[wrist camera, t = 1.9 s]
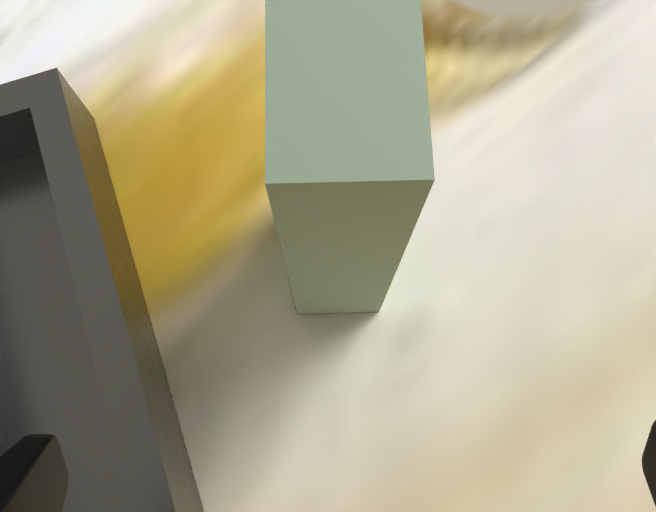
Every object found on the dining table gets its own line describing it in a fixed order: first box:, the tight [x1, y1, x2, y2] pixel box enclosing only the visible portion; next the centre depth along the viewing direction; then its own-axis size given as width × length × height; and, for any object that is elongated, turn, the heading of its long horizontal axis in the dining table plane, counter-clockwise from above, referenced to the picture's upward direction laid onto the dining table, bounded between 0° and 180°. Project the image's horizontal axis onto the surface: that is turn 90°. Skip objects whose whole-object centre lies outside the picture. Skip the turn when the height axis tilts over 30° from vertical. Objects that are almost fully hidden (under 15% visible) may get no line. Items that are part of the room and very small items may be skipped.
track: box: [0, 68, 204, 512], centre depth 21 cm, size 16×7×4 cm, turn 19°
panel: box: [265, 0, 434, 314], centre depth 18 cm, size 3×4×12 cm
